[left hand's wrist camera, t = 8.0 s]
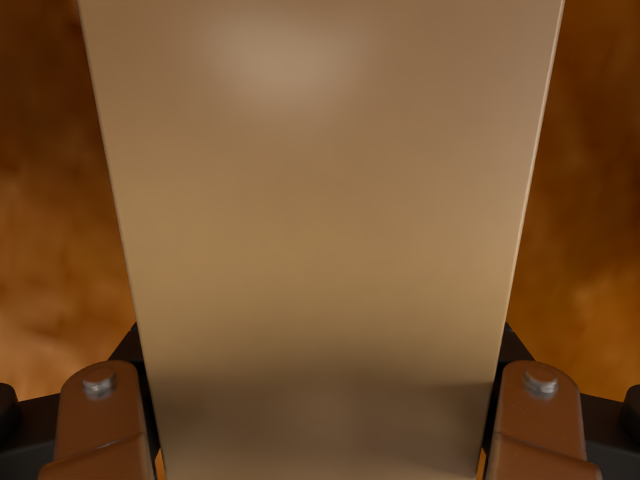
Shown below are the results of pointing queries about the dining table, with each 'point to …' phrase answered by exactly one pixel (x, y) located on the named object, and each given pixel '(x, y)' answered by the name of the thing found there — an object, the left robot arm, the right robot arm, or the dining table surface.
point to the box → (320, 221)
